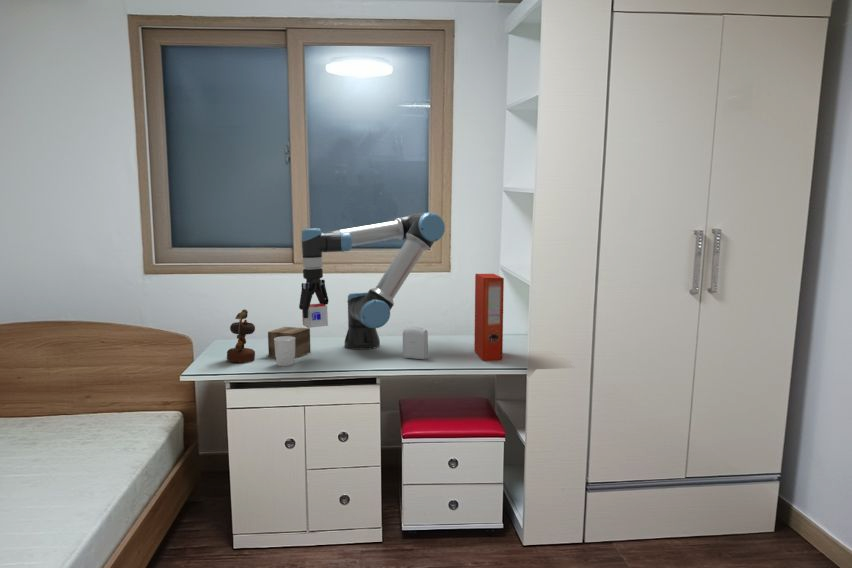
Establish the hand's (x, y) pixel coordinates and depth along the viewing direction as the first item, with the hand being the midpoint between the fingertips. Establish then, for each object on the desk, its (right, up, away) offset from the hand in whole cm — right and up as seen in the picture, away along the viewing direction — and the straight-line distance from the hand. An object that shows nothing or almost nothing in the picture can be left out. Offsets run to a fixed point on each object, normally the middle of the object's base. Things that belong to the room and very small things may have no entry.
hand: (315, 323), depth 252 cm
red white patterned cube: (0, -1, 0) cm, 1 cm away
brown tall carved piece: (-28, -14, -2) cm, 32 cm away
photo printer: (+40, -14, -1) cm, 42 cm away
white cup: (-10, -15, -9) cm, 20 cm away
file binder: (+68, -13, +2) cm, 70 cm away
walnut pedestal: (-11, -13, +7) cm, 19 cm away
